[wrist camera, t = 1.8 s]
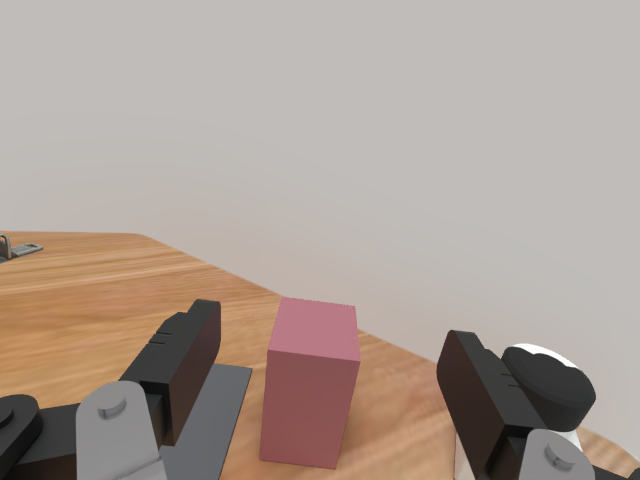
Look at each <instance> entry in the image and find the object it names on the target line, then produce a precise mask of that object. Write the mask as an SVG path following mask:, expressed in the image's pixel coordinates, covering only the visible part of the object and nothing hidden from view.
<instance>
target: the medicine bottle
mask: <svg viewBox="0 0 640 480" xmlns="http://www.w3.org/2000/svg"><path fill="white" fill-rule="evenodd" d="M501 360H502V361H503V362H504V364H505V365H506V367H507V368H508V370H509V371H510V373H511V374H512V377H514V379H515V380H516V382H517V383H518V385H519V388H520V389H522V391H523V392H524V394H525V395H526V397H527V398H528V400H529V401H530V403H531V404H532V406H533V407H534V409H535V410H536V412H537V413H538V415H539V416H540V418H541V419H542V421H543V422H544V424H545V425H546V427H547V428H548V430H549V431H552V432H555V433H557V434H559V435H561V436H563V437H564V438H566V439H568V440H569V441H570V442H572V443H573V444H574V445H575V446H577V447H578V448H579V449H580V450H581V451H582V449H581V446H580V443H579V440H578V437H577V434H576V429H577V428H578V426H579V425H580V423H581V422H582V420H583V419H584V417H585V416H586V414H587V413H588V411H589V410H590V408H591V407H592V405H593V404H594V402H595V400H596V394H595V391H594V388H593V386H592V384H591V382H590V380H589V379H588V378H587V376H586V375H585V374H584V373H583V372H582V371H581V370H580V369H579V368H577V367H576V366H575V365H574V364H572V363H571V362H570V361H568V360H567V359H565V358H564V357H562V356H560V355H558V354H557V353H554V352H553V351H550V350H548V349H545V348H543V347H540V346H536V345H531V344H516V345H512V346H509V347H508V348H507V349H506V350H505V351H504V353H503V356H502V358H501ZM454 478H455V480H475V478H474V475H473V473H472V470H471V468H470V465H469V462H468V460H467V457H466V454H465V452H464V449H463V446H462V444H461V441H460V439H459V436H458V433H457V431H456V451H455V472H454Z"/></svg>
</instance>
